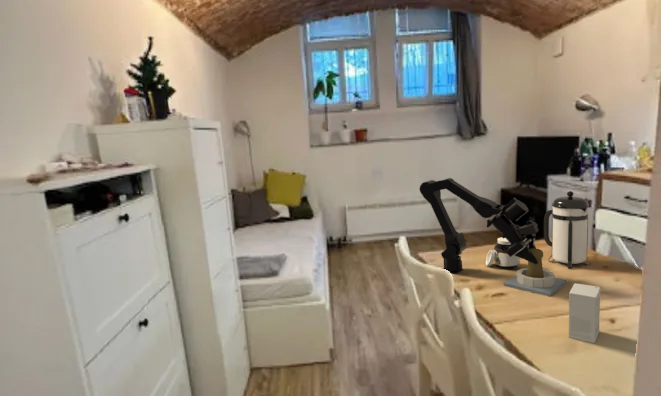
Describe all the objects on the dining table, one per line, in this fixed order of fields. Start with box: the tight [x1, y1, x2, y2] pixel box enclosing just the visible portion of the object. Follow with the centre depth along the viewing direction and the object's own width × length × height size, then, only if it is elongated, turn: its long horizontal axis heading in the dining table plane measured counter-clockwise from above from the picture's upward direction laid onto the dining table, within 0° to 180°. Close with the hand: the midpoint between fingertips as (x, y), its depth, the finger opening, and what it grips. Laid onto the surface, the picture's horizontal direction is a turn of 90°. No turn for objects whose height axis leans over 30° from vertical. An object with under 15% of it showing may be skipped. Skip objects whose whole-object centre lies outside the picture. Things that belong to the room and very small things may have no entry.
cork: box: [526, 247, 544, 278], centre depth 145 cm, size 6×6×11 cm
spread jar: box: [485, 236, 521, 270], centre depth 166 cm, size 12×11×12 cm
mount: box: [503, 267, 568, 297], centre depth 146 cm, size 16×16×4 cm
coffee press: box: [543, 190, 591, 270], centre depth 163 cm, size 17×16×30 cm
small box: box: [568, 283, 601, 344], centre depth 109 cm, size 8×6×13 cm
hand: (539, 261), depth 144 cm, fingers closed on cork, 5 cm apart
